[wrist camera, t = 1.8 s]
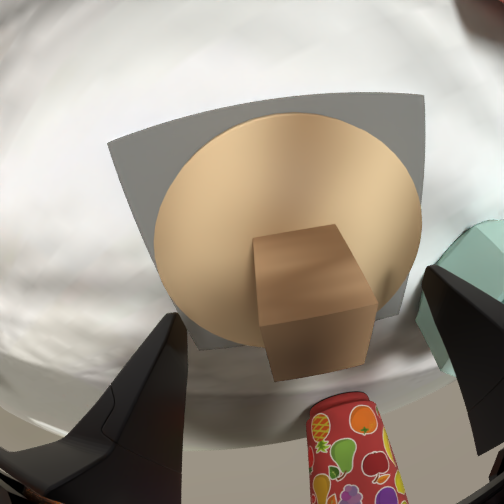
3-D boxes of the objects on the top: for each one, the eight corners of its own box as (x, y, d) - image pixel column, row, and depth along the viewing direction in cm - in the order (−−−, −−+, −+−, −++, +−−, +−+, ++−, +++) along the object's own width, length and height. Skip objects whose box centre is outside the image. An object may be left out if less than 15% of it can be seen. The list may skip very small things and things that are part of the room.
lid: (415, 106, 8) (514, 142, 4) (393, 310, 14) (426, 382, 10) (122, 151, 9) (40, 216, 4) (204, 344, 15) (198, 425, 11)
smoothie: (318, 424, 25) (338, 573, 9) (279, 408, 21) (296, 599, 5) (387, 396, 23) (422, 554, 6) (366, 373, 19) (410, 585, 2)
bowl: (523, 210, 11) (565, 248, 7) (487, 307, 16) (512, 345, 12) (434, 227, 11) (487, 286, 7) (403, 339, 16) (425, 391, 13)
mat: (419, 94, 8) (424, 95, 7) (396, 310, 14) (398, 314, 14) (110, 141, 8) (107, 143, 8) (199, 346, 15) (199, 350, 15)
